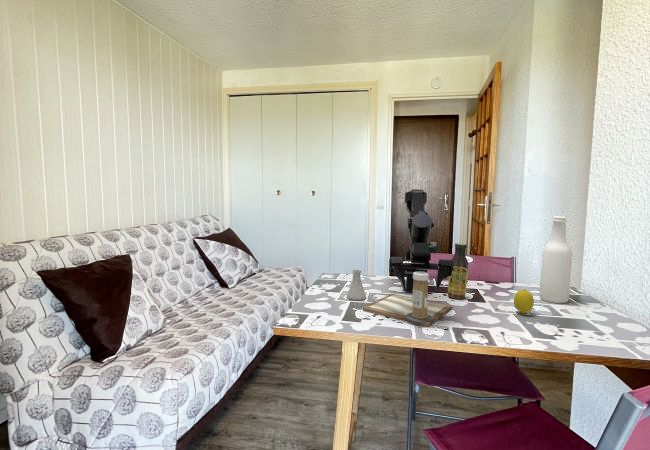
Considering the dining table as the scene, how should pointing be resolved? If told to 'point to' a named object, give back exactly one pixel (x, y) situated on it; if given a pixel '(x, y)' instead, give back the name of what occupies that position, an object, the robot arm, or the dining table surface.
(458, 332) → the dining table surface
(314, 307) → the dining table surface
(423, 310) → the sprinkles bottle
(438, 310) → the beige tray
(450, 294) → the sauce bottle
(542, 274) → the alcohol
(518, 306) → the lemon
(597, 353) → the dining table surface
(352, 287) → the flask
